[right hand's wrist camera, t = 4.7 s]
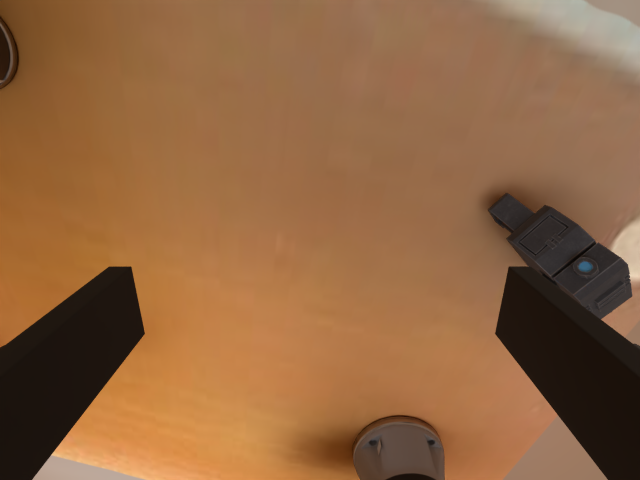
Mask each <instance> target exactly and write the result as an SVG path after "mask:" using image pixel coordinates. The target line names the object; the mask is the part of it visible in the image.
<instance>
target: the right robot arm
mask: <svg viewBox="0 0 640 480" xmlns="http://www.w3.org/2000/svg"><path fill="white" fill-rule="evenodd" d="M144 334H145V332H144V327H143V322H142V317H141V313H140V308H139V303H138V298H137V293H136V288H135V283H134V278H133V273H132V268H131V267H108V268H107V269H105V270H104V271H103V272H101V273H100V274H99V275H98V276H96V277H95V278H94V279H92V280H91V281H90V282H88V283H87V284H86V285H84V286H83V287H82V288H80V289H79V290H78V291H76V292H75V293H74V294H72V295H71V296H70V297H68V298H67V299H66V300H64V301H63V302H62V303H61V304H59V305H58V306H57V307H55V308H54V309H53V310H51V311H50V312H49V313H47V314H46V315H45V316H43V317H42V318H41V319H39V320H38V321H37V322H35V323H34V324H33V325H31V326H30V327H29V328H27V329H26V330H25V331H24V332H22V333H21V334H20V335H18V336H17V337H16V338H14V339H13V340H12V341H10V342H9V343H8V344H6V345H4V346H2V347H0V480H32V479H33V478H34V476H35V475H36V474H37V473H38V471H39V470H40V469H41V467H42V466H43V465H44V463H45V462H46V461H47V459H48V458H49V457H50V456H51V454H52V453H53V452H54V451H55V449H56V448H57V447H58V445H59V444H60V443H61V441H62V440H63V439H64V438H65V436H66V435H67V434H68V432H69V431H70V430H71V429H72V427H73V426H74V425H75V423H76V422H77V421H78V420H79V418H80V417H81V416H82V414H83V413H84V412H85V410H86V409H87V408H88V407H89V405H90V404H91V403H92V401H93V400H94V399H95V398H96V396H97V395H98V394H99V392H100V391H101V390H102V388H103V387H104V386H105V385H106V383H107V382H108V381H109V379H110V378H111V377H112V376H113V374H114V373H115V372H116V370H117V369H118V368H119V366H120V365H121V364H122V363H123V361H124V360H125V359H126V357H127V356H128V355H129V354H130V352H131V351H132V350H133V348H134V347H135V346H136V344H137V343H138V342H139V341H140V339H141V338H142V337H143V335H144ZM495 334H496V335H497V337H498V338H499V339H500V341H501V342H502V343H503V344H504V346H505V347H506V348H507V350H508V351H509V352H510V354H511V355H512V356H513V357H514V359H515V360H516V361H517V363H518V364H519V365H520V366H521V368H522V369H523V370H524V372H525V373H526V374H527V376H528V377H529V378H530V379H531V381H532V382H533V383H534V385H535V386H536V387H537V388H538V390H539V391H540V392H541V394H542V395H543V396H544V398H545V399H546V400H547V401H548V403H549V404H550V405H551V407H552V408H553V409H554V410H555V412H556V413H557V414H558V416H559V417H560V418H561V420H562V421H563V422H564V423H565V425H566V426H567V427H568V428H569V430H570V431H571V432H572V434H573V435H574V436H575V438H576V439H577V440H578V441H579V443H580V444H581V445H582V447H583V448H584V449H585V451H586V452H587V453H588V454H589V456H590V457H591V458H592V460H593V461H594V462H595V463H596V465H597V466H598V467H599V469H600V470H601V471H602V473H603V474H604V475H605V476H606V478H607V479H608V480H640V346H639V345H637V344H632V343H631V342H630V341H628V340H627V339H626V338H624V337H623V336H622V335H620V334H619V333H618V332H616V331H615V330H614V329H613V328H611V327H610V326H609V325H607V324H606V323H605V322H603V321H602V320H601V319H599V318H598V317H597V316H595V315H594V314H593V313H591V312H590V311H589V310H587V309H586V308H585V307H583V306H582V305H581V304H579V303H578V302H577V301H576V300H574V299H573V298H572V297H570V296H569V295H568V294H566V293H565V292H564V291H562V290H561V289H560V288H558V287H557V286H556V285H554V284H553V283H552V282H550V281H549V280H548V279H546V278H545V277H544V276H542V275H541V274H540V273H539V272H537V271H536V270H535V269H533V268H532V267H509V268H508V273H507V278H506V283H505V288H504V293H503V298H502V303H501V308H500V313H499V317H498V322H497V327H496V332H495ZM353 460H354V466H355V469H356V472H357V474H358V476H359V478H360V480H445V473H444V450H443V446H442V443H441V440H440V438H439V436H438V434H437V432H436V431H435V430H434V429H433V428H432V427H431V426H430V425H429V424H427V423H425V422H423V421H421V420H419V419H416V418H411V417H403V416H397V417H389V418H385V419H381V420H378V421H376V422H374V423H372V424H370V425H369V426H367V427H366V428H365V429H363V430H362V431H361V433H360V434H359V435H358V436H357V438H356V440H355V442H354V445H353Z"/></svg>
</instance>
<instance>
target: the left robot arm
mask: <svg viewBox="0 0 640 480" xmlns="http://www.w3.org/2000/svg"><path fill="white" fill-rule="evenodd" d="M16 67H17V50H16V46H15V42H14V39H13V37H12V35H11V33H10V31H9V29H8V28H7V26H6V24H5V23H4V22H3V20H2V19H1V18H0V88H2V87H4V86H5V85H7V84H8V83H9V82H10V81H11V79H12V78H13V76H14V74H15V71H16Z"/></svg>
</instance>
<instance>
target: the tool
mask: <svg viewBox="0 0 640 480" xmlns="http://www.w3.org/2000/svg"><path fill="white" fill-rule="evenodd" d="M488 211H489V212H490V214H491V215H492V217H493V218H494V220H495V222H497V223H498V224H499V225H500V226H501V227H503V228H506V229H507V230H509V231H510V232H511V233H512V234H511V235H510V236H509V237H508V238H506V239H507V240H508V242H509V243H510V244H511V245H512V246H513V248H514V249H515V250H516V251H517V253H518V254H519V255H520V256H521V257H522V259H523V260H524V261H525V262H526V264H527V265H528V266H529V267H532V268H533V269H535V270H536V271H537V272H539V273H540V274H541V275H542V276H544V277H545V278H546V279H548V280H549V281H550V282H552V283H553V284H554V285H556V286H557V287H558V288H560V289H561V290H562V291H564V292H565V293H566V294H568V295H569V296H570V297H572V298H573V299H574V300H576V301H577V302H578V303H579V304H581V305H582V306H583V307H585V308H586V309H587V310H589V311H590V312H591V313H593V314H594V315H595V316H597V317H598V318H599V319H602V318H603V317H605V316H606V315H607V314H609V313H610V312H612V311H613V310H614V309H616V308H617V307H618V306H620V305H621V304H622V303H624V302H625V301H626V300H628V299H629V298H631V297H632V289H631V283H630V279H629V278H630V276H629V274H630V273H629V268H628V264H627V263H626V262H625V261H624V260H623V259H622V258H620V257H619V256H617V255H616V254H614V253H613V252H612V251H610V250H609V249H607V248H606V247H604V246H603V245H601V244H600V243H597V244H596V242H595V240H594V239H593V238H592V237H591V236H590V235H589V234H588V233H587V232H586V231H585V230H584V229H582V228H581V227H580V226H579V225H578V224H576V223H575V222H573V221H572V220H570V219H569V218H567V217H566V216H564V215H563V214H561V213H560V212H558V211H557V210H555V209H554V208H552V207H549V206H546V205H544V206H543V207H542V208H541V209H540V210H539V211H537V212H536V213H533V212H532V211H531V210H529V209H528V208H527V207H525V206H524V205H523V204H521V203H520V202H519V201H517V200H516V199H515V198H514V197H512V196H511V195H510V194H508V193H506V194H505V195H504V196H502V197H501V198H500V199H499V200H498V201H497V202H496V203H495V204H494V205H493V206H491V207H490V208H489V209H488Z"/></svg>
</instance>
